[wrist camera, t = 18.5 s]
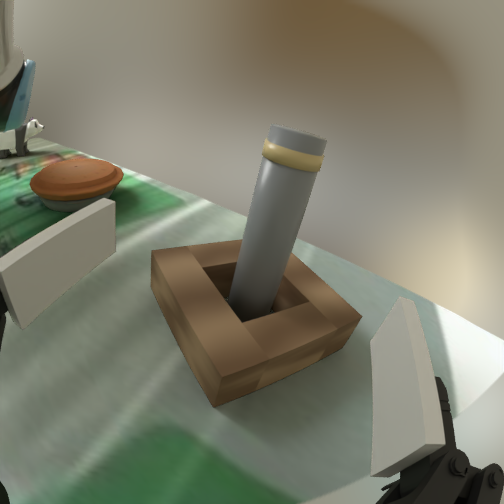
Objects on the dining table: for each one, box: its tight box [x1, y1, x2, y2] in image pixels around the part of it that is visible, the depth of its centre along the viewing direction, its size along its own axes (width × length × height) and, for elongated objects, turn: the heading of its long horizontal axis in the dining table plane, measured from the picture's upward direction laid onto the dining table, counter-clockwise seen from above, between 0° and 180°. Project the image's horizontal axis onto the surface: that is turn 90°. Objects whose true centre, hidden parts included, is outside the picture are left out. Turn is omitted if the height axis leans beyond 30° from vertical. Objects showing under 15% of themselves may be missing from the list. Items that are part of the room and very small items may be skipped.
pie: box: [30, 159, 124, 212], centre depth 36 cm, size 15×16×5 cm
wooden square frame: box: [151, 239, 362, 408], centre depth 23 cm, size 13×13×4 cm
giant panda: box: [0, 117, 44, 158], centre depth 48 cm, size 15×6×10 cm, turn 116°
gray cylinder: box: [228, 124, 327, 323], centre depth 20 cm, size 4×4×16 cm
